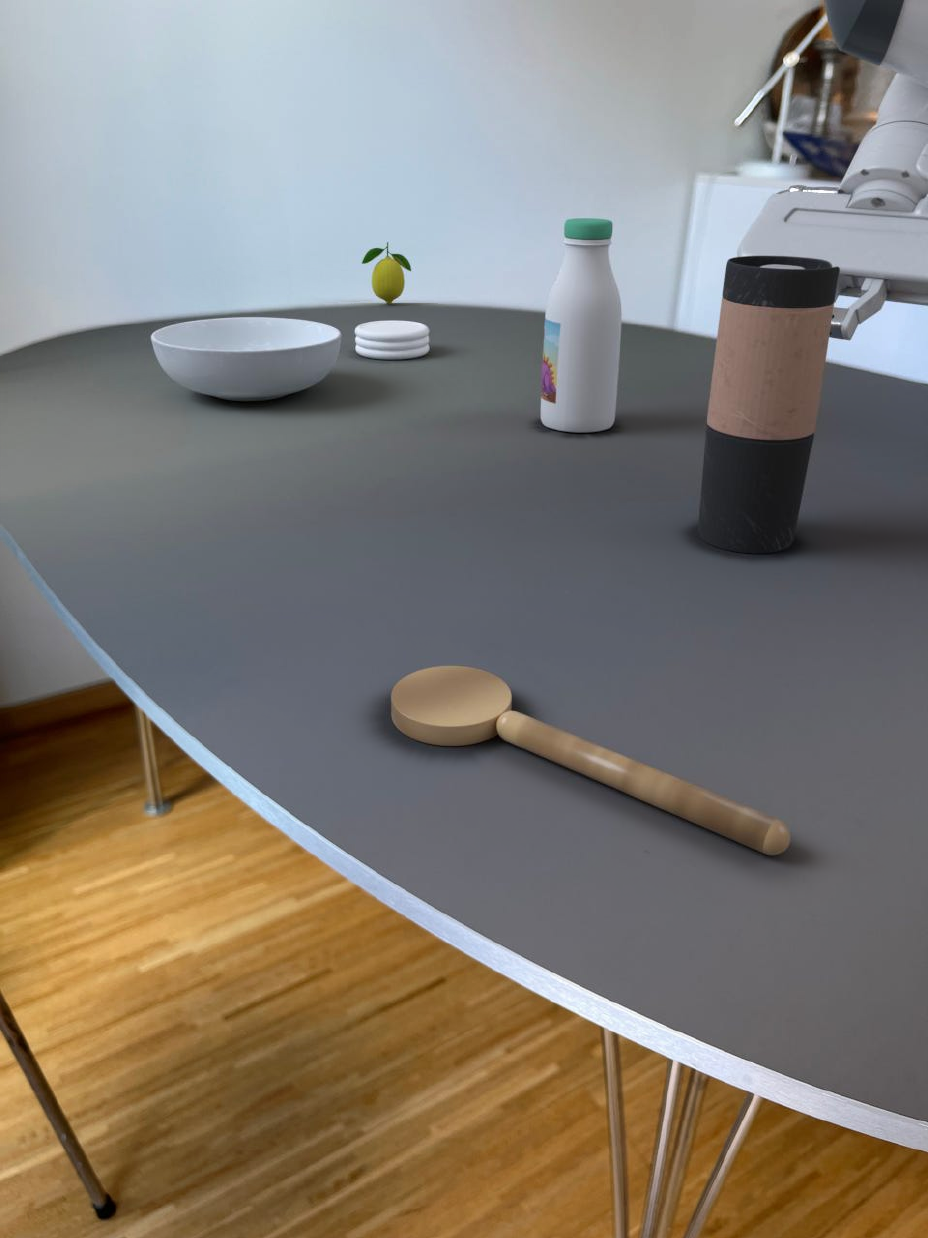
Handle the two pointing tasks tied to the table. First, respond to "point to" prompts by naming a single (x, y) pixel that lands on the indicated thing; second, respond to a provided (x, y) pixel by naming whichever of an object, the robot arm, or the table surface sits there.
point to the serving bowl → (247, 355)
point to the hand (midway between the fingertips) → (829, 333)
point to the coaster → (392, 340)
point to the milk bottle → (582, 333)
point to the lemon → (387, 274)
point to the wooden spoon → (563, 750)
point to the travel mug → (764, 399)
